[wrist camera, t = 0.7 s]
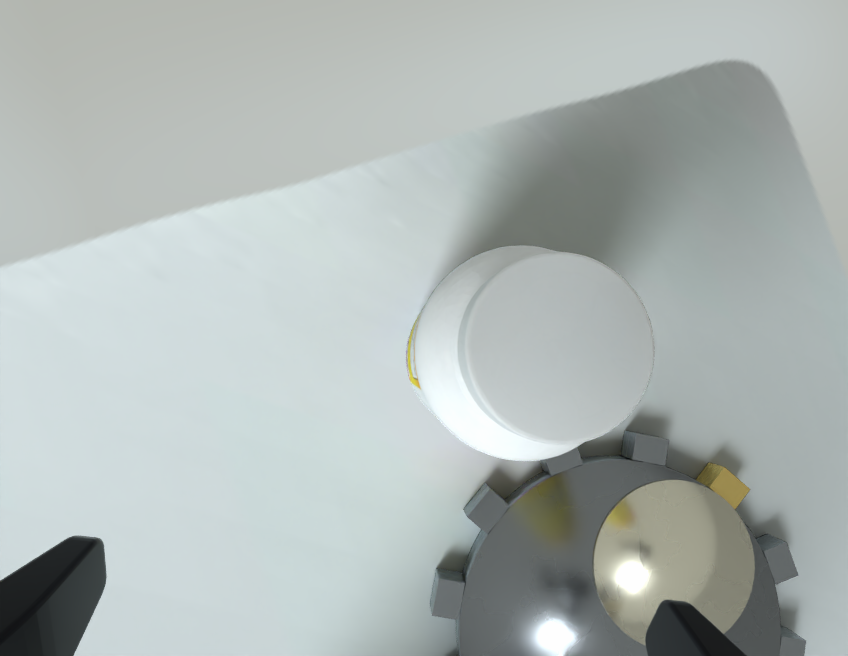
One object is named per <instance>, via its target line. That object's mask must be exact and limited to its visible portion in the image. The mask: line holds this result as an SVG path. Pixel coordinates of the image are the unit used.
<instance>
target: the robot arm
mask: <svg viewBox="0 0 848 656" xmlns="http://www.w3.org/2000/svg"><path fill="white" fill-rule="evenodd" d="M105 584H106V565H105V553H104V544H103V541H102V540H101V539H100V538H96V537H87V536H72V537H69V538H67V539H65V540H64V541H62V542H61V543H59V544H58V545H56V546H54V547H53V548H51V549H50V550H48V551H46V552H45V553H43V554H42V555H40V556H39V557H37V558H35V559H34V560H32V561H31V562H29V563H27V564H26V565H24V566H23V567H21V568H19V569H18V570H16V571H15V572H13V573H12V574H10V575H8V576H7V577H5V578H4V579H2V580H0V656H73V655H74V653H75V651H76V649H77V647H78V645H79V643H80V640H81V638H82V636H83V634H84V632H85V630H86V628H87V625H88V623H89V621H90V619H91V617H92V615H93V613H94V610H95V608H96V606H97V604H98V602H99V600H100V598H101V595H102V593H103V590H104V587H105ZM645 644H646V650H647V654H648V656H747V655H746V654H745V653H744V652H743V651H742V650H740V649H739V648H738V647H737V646H736V645H735V644H734V643H733V642H732V641H731V640H730V639H729V638H727V637H726V636H725V635H724V634H723V633H722V632H721V631H720V630H719V629H718V628H717V627H715V626H714V625H713V624H712V623H711V622H710V621H709V620H708V619H707V618H706V617H705V616H704V615H702V614H701V613H700V612H699V611H698V610H697V609H696V608H695V607H694V606H692V605H691V604H690V603H688V602H685V601H677V600H668V599H667V600H664V601H662V602H661V603H660V604H659V606H658V608H657V610H656V612H655V614H654V616H653V619H652V621H651V623H650V625H649V627H648V629H647V631H646V636H645Z"/></svg>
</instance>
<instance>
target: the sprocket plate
mask: <svg viewBox="0 0 848 656" xmlns="http://www.w3.org/2000/svg"><path fill="white" fill-rule="evenodd" d="M668 444H669V440H667V439H664V438H660V437H656V436H651V435H646V434H641V433H635V432H630V431H624V437H623V444H622V450H621V455H622V456H595V457H589V458H582V459H581V456H580V453H579V450H578V448H577V447H576V448H574V449H572V450H571V451H568V452H566V453H564V454H561V455H559V456H555V457H552V458H548V459H543V460H540V462H541V465H542V468H543V471H544V472H542V473H540V474H539V475H537V476H535V477H534V478H532V479H531V480H529V481H527V482H526V483H524V484H523V485H522V486H520V487H519V488H518V489H517V490H516V491H514V492H513V493H512V494H511V495H510V496H508V497H507V498H506V499H505V500H504V499H503V498H502V497H501V496H500V495H498V494H497V493H496V492H495V491H494V490H493V489H491V488H490V487H489V486H488V485H487V484H486V483H484V485H483V486H482V487H481V488H480V490H479V491H478V492H477V493H476V494H475V496H474V497H473V498H472V499H471V501H470V502H469V503H468V504H467V505H466V507H465V508H464V509H463V510H464V512H465V514H466V515H467V517H468V518H469V519H470V520H472V521H473V522H474V523H475V524H476V525H477V526H478V527H480V528H481V531H480V533H479V534H478V536H477V538H476V540H475V542H474V544H473V546H472V548H471V550H470V552H469V555H468V558H467V560H466V563H465V566H464V568H463V572H462V573H461V572H456V571H450V570H444V569H439V568H436V572H435V577H434V583H433V588H432V594H431V599H430V607H431V612H432V616H438V617H444V618H450V619H456V638H457V645H458V652H459V656H648V654H647V650H646V644H645V636H646V631H647V629H648V627H649V625H650V623H651V621H652V619H653V616H654V614H655V612H656V610H657V608H658V606H659V604H660V603H661V602H662V601H664V600H667V599H668V600H677V601H685V602H688V603H690V604H691V605H692V606H694V607H695V608H696V609H697V610H698V611H699V612H700V613H701V614H702V615H704V616H705V617H706V618H707V619H708V620H709V621H710V622H711V623H712V624H713V625H714V626H715V627H717V628H718V629H719V630H720V631H721V632H722V633H723V634H724V635H725V636H726V637H727V638H729V639H730V640H731V641H732V642H733V643H734V644H735V645H736V646H737V647H738V648H739V649H740V650H742V651H743V652H744V653H745V654H746V655H747V656H804V653H805V645H806V640H804V639H803V638H801V637H800V636H798V635H797V634H795V633H794V632H792V631H791V630H789V629H788V628H786V627H781V625H780V609H779V603H778V597H777V592H776V587H775V584H778V583H781V582H783V581H785V580H788V579H790V578H793V577H795V576H797V575H798V572H797V570H796V567H795V564H794V562H793V559H792V556H791V553H790V551H789V548H788V545H787V543H786V542H785V541H783V540H780V539H778V538H776V537H774V536H771V535H769V534H766V535H763V536H761V537H759V538H756V539H755V537H754V536H753V534H752V532H751V530H750V529H749V528H748V526H747V525H746V524H745V523H744V521H743V520H742V519H741V518H740V516H739V515H738V513H737V512H736V511H735V509H736V508H737V506H738V505H739V504H740V502H741V501H742V500H743V498H744V497H745V496H746V494H747V493H748V492H749V490H750V489H749V488H748V487H747V486H746V485H745V484H743V483H742V482H741V481H740V480H739V479H738V478H736V477H735V476H734V475H733V474H732V473H731V472H730V471H728V470H727V469H726V468H725V467H722V466H719V465H716V464H713V463H708V464H707V466H706V467H705V468H704V469H703V471H702V472H701V473H700V475H699V476H698V477H697V479H696V480H695V479H693V478H691V477H689V476H688V475H685V474H683V473H680V472H678V471H675V470H673V469H671V468H668V467H665V464H666V457H667V451H668ZM663 465H664V466H663Z"/></svg>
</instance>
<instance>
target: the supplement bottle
mask: <svg viewBox="0 0 848 656" xmlns="http://www.w3.org/2000/svg"><path fill="white" fill-rule="evenodd" d="M653 363H654V338H653V331H652V327H651V323H650V319H649V317H648V314H647V312H646V310H645V307H644V305H643V303H642V301H641V300H640V298H639V296H638V295H637V293H636V292H635V291H634V289H633V288H632V287H631V286H630V285H629V284H628V282H627V281H626V280H625V279H624V278H623V277H621V276H620V275H619V274H618V273H617V272H616V271H614V270H613V269H611V268H610V267H608V266H607V265H605V264H603V263H602V262H600V261H597V260H595V259H593V258H591V257H588V256H585V255H580V254H575V253H570V252H557V251H554V250H551V249H547V248H543V247H537V246H527V245H516V246H505V247H499V248H496V249H492V250H489V251H486V252H483V253H480V254H478V255H476V256H474V257H472V258H470V259H469V260H467V261H465V262H464V263H462V264H461V265H459V266H458V267H456V268H455V269H454V270H453V271H452V272H450V273H449V274H448V275H447V276H446V277H445V278H444V279H443V280H442V281H441V283H440V284H439V285H438V286H437V287H436V289H435V290H434V291H433V293H432V294H431V296H430V298H429V299H428V301H427V303H426V305H425V306H424V308H423V309H422V311H421V313H420V314H419V316H418V318H417V319H416V321H415V323H414V325H413V327H412V330H411V332H410V335H409V339H408V343H407V351H406V364H407V371H408V376H409V379H410V382H411V384H412V387H413V389H414V391H415V393H416V395H417V396H418V398H419V399H420V400H421V402H422V403H423V404H424V405H425V407H426V408H427V409H428V410H429V411H430V412H431V413H432V414H433V415H434V416H435V417H436V418H438V419H439V421H440V422H441V423H442V424H443V425H444V426H445V427H446V428H447V429H448V430H449V431H450V432H451V433H452V434H453V435H454V436H456V437H457V438H458V439H459V440H461V441H462V442H464V443H465V444H467V445H468V446H470V447H472V448H474V449H476V450H478V451H480V452H482V453H485V454H488V455H490V456H493V457H497V458H501V459H506V460H513V461H537V460H543V459H548V458H552V457H555V456H559V455H561V454H564V453H566V452H568V451H571V450H572V449H574V448H576V447H578V446H579V445H581V444H582V443H584V442H586V441H589V440H593V439H596V438H598V437H600V436H602V435H604V434H606V433H608V432H609V431H611V430H613V429H614V428H615V427H616V426H618V425H619V424H620V423H621V422H623V421H624V420H625V419H626V418H627V417H628V416H629V415H630V414H631V412H632V411H633V410H634V408H635V407H636V406H637V404H638V403H639V402H640V400H641V398H642V396H643V394H644V392H645V390H646V388H647V386H648V383H649V380H650V377H651V374H652V369H653Z"/></svg>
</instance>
